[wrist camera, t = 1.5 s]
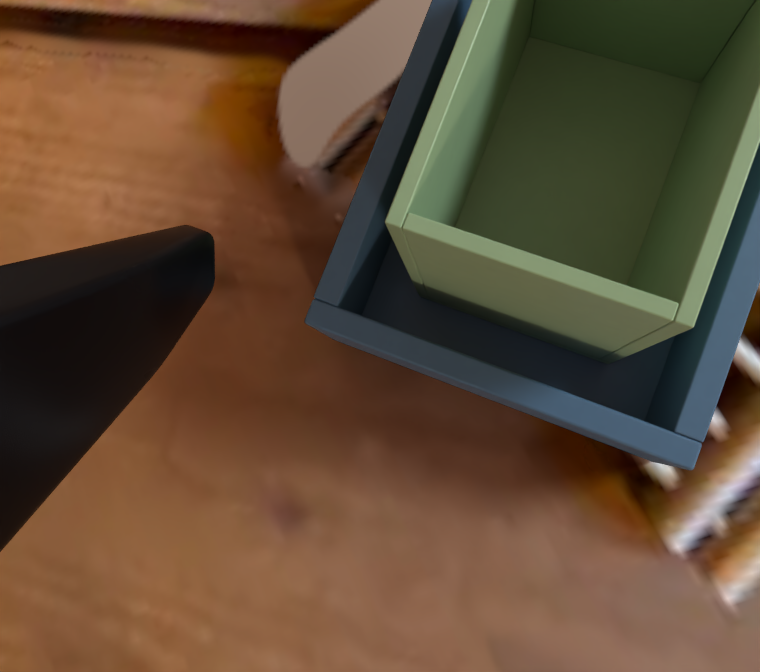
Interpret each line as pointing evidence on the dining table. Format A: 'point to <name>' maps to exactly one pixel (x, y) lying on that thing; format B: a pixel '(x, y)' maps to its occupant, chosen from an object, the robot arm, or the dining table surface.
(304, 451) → the dining table surface
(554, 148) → the caddy
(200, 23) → the dining table surface
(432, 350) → the box
